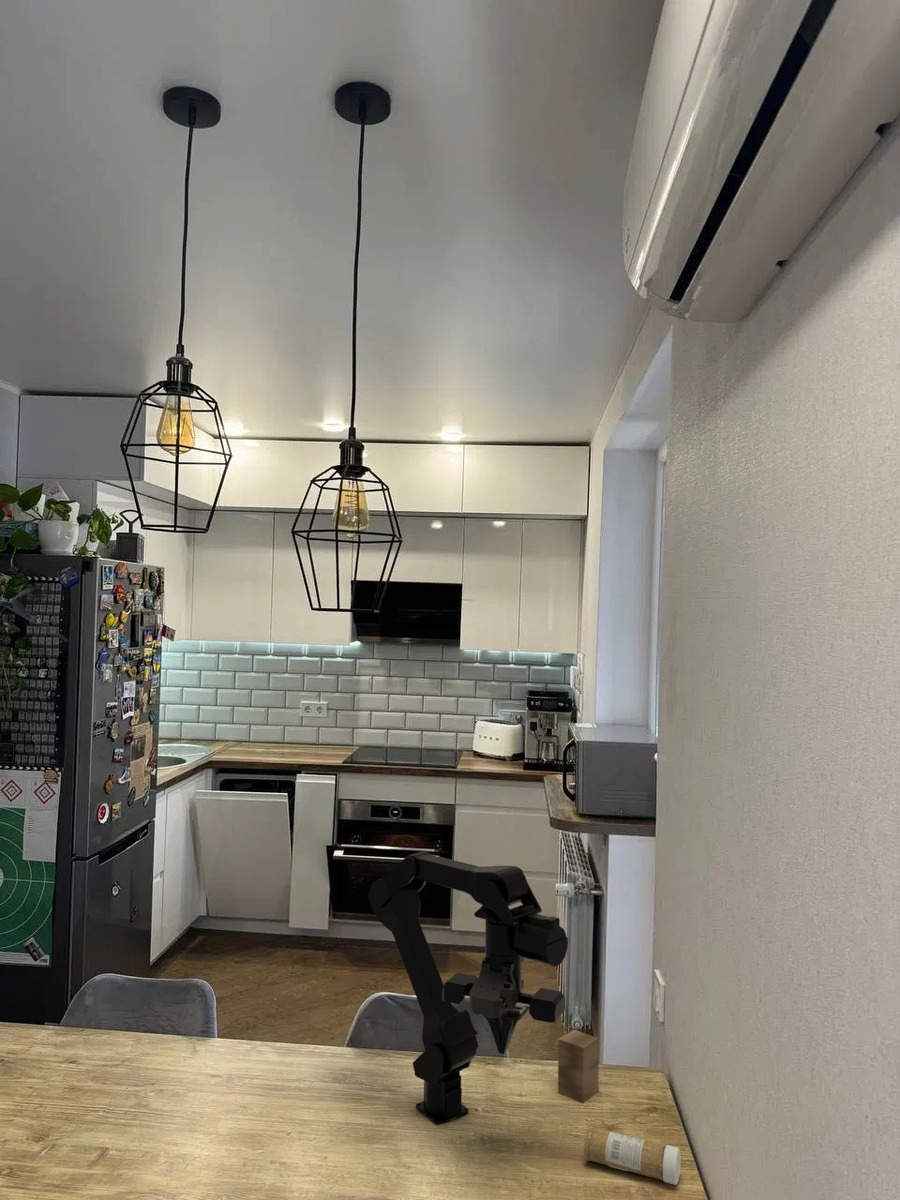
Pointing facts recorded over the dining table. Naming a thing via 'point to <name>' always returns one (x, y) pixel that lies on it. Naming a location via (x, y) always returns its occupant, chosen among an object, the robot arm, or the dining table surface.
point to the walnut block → (578, 1066)
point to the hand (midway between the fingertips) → (502, 1052)
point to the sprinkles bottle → (633, 1154)
